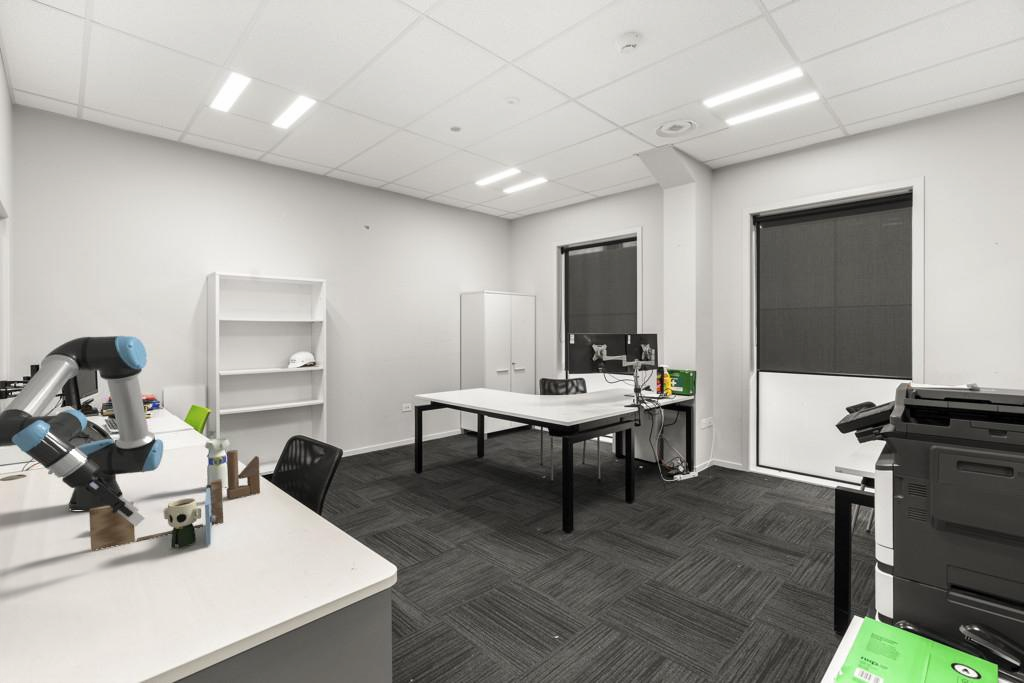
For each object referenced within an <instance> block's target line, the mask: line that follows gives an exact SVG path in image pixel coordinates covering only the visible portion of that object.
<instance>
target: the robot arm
mask: <svg viewBox="0 0 1024 683" xmlns="http://www.w3.org/2000/svg"><path fill="white" fill-rule="evenodd" d="M147 356H148V355H147V351H146V348H145V345H144V343H143V342H142V341H141V339H139V338H138V337H136V336H129V335H128V336H125V335H118V336H116V335H115V336H114V335H113V336H112V335H111V336H82V337H78V338H77V337H76V338H74V339H71V340H69V341H67V342H64V343H63V344H61V345H59V346H58V347H56V348H54V349H53V350H51V351H50V352H49V353H48V354H46V356H45V357H43V359H42V360H41V362H40V368H39V370H38V371H37V372H36V373H34V375H33V376H32V378H30V380H29V381H28V382H27V383H26V384H25V385H24V387H23V388H22V389H21V390H20V391H19V393H18V394H17V395H16V396H15V397H14V398H13V399H12V400H11V401H10V403H9V404H8V405H7V406H6V407H5V408H4V410H3V411H2V412H1V413H0V447H9V446H17V447H18V448H19V449H20V451H21V452H24V453H25V454H26V455H28V456H29V457H31V458H32V459H33V460H35V461H36V462H38V463H39V464H40V465H42V466H43V467H44V468H45V469H47V470H48V472H47V474H48V475H52V474H54V475H55V477H57V478H58V479H59V478H60V479H61V482H63V483H64V484H66V485H67V486H68V487H70V489H71V488H72V489H73V491H72V494H71V497H70V499H69V502H68V509H69V508H70V509H71V510H90V509H92V508H98V507H103V506H110V507H112V508H113V511H112V512H113V513H116V512H118V513H119V514H120V515H122V516H123V517H124V518H126V519H127V520H128V521H129V522H131V523H132V524H133V525H134V527H137V526H138V525H139V524H141V522H143V521H144V520H145V519H146V517H144V516H143V515H142V514H141V513H139V509H138V507H136V506H135V505H134V504H133V505H132V504H131V503H130V502H131V501H128V500H127V499H126V498H125V497H123V491H122V490H121V488H120V486H119V484H118V481H117V477H116V476H117V475H126V474H134V473H135V474H136V473H145V472H153V471H156V470H157V469H158V467H159V466H160V464H161V462H162V459H163V453H164V442H163V440H162V439H159V438H158V439H156V438H155V437H156V436H155V434H154V433H153V432H151V431H149V426H148V422H147V416H146V411H145V407H144V401H143V396H142V391H141V390H142V389H141V386H140V381H139V377H138V376H139V375H140V374H141V373H142V371H143V369H144V368H145V367H146V364H147ZM85 371H86V372H87V371H89V372H90V371H98V372H99V376H100V378H101V379H103V380H105V381H107V386H108V389H109V390H108V391H109V394H110V395H109V396H110V399H111V400H110V401H111V403H112V404H111V405H112V409H113V412H114V416H115V417H114V418H115V422H116V425H117V426H116V427H117V431H118V437H119V438H118V439H116V441H115V439H114V438H105V439H100V440H95V441H92V442H87V443H84V444H81V445H78V446H75V445H74V444H72V443H71V442H72V440H74V439H75V438H76V437H78V436H80V435H81V433H82V432H83V430H85V429H86V427H87V424H88V418H87V417H86V415H85V414H84V413H82V412H81V411H80V410H77V409H65V410H64V411H61V412H58V413H57V414H53V415H42V414H43V412H44V411H45V410H46V409H47V408H48V406H49V405H50V404H51V403H52V401H53V400H54V398H55V397H56V396H57V394H59V392H60V390H62V388H63V387H64V385H65V384H66V383H67V382H68V380H69V379H72V378H74V377H76V376H77V375H78V374H79V373H81V372H85Z"/></svg>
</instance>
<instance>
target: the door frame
mask: <svg viewBox="0 0 1024 683" xmlns="http://www.w3.org/2000/svg"><path fill="white" fill-rule="evenodd" d="M205 487H206V489H207V488H210V495H211V516H214V515H215V522H212V526H214V524H215V525H219V524H218V523H220V524H223V523H224V504H223V503H224V500H223V489H222V480H221V479H219V480H213V481H211V485H207V484H206V485H205ZM206 489H205V490H206ZM129 502H130V503H131V504H132V505H133V506H134V501H133V500H132V501H129ZM112 511H113V508H112V507H110V506H103V507H98V508H92V509H90V510H89V511H88V514H89V536H90V551H91V550H96V549H101V548H105V549H107V548H106V547H110V548H112V547H111V546H114V547H117V546H116V545H119V546H122V545H121V544H123V545H127V544H126V543H128V544H131V543H130V542H133V543H135V541H136V542H137V541H138V542H142V541H141V540H143V541H147V540H151V539H150V538H152V539H155V538H154V537H156V538H159V537H158V536H161V537H164V536H163V535H165V536H168V534H170V535H172V531H173V529H172V530H167V531H163V532H159V533H154V534H149V535H143V536H140V537H136V535H135V534H136V530H135V525H133V524H132V523H131V522H129V521H128V520H127V519H126V518H124V517H123V516H122V515H120V514H119V513H118V512H116V513H113V512H112ZM222 522H223V523H222ZM193 526H194V530H196V529H195V528H197V529H201V528H200V527H202V528H204V525H203V523H201V524H195V525H193ZM146 539H147V540H146ZM101 550H102V549H101ZM96 551H97V550H96Z"/></svg>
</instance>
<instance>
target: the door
mask: <svg viewBox="0 0 1024 683" xmlns="http://www.w3.org/2000/svg"><path fill="white" fill-rule="evenodd" d="M205 491H206V492H205V502H204V514H205V516H204V517H205V535H206V537H205V542H206V543H205V544H206V546H210V545H211V544H212V526H213V524H212V522H215V515H214V516H211V508H212V505H211V495H210V488H207V489H205Z"/></svg>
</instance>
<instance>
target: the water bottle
mask: <svg viewBox="0 0 1024 683" xmlns="http://www.w3.org/2000/svg"><path fill="white" fill-rule="evenodd" d="M216 432H217V430H213V428H211V429H210V430H207V431H206V433H208V437H209V438H210V437H211V436H212V437H215V433H216ZM229 446H230V441H229V438H227V437H221V438H220V437H219V438H218V437H217V438H212V439H209V440H206V443H205V445H204V448H205V449H206V450H207V449H208V453H207V455H206V457H207V461H208V462H207V463H208V464H207V466H206V468H207V470H206V472H207V479H206V480H207V484H206V485H211V481H213V480H219V479H221V480H222V488H225V487H227V488H228V474H227V451H226V448H227V447H229ZM225 489H226V488H225Z"/></svg>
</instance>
